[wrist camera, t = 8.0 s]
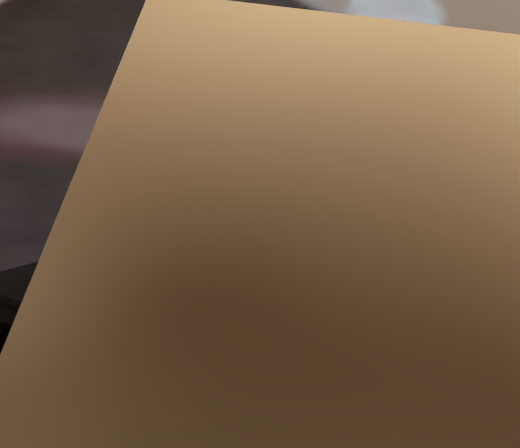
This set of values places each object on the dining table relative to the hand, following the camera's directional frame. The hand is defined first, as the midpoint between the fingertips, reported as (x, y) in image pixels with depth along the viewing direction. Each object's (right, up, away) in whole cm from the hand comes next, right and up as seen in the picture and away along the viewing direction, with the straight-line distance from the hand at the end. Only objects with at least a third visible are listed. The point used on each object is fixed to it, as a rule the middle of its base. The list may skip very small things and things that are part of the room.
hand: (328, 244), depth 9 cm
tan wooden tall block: (+1, -3, +7) cm, 7 cm away
